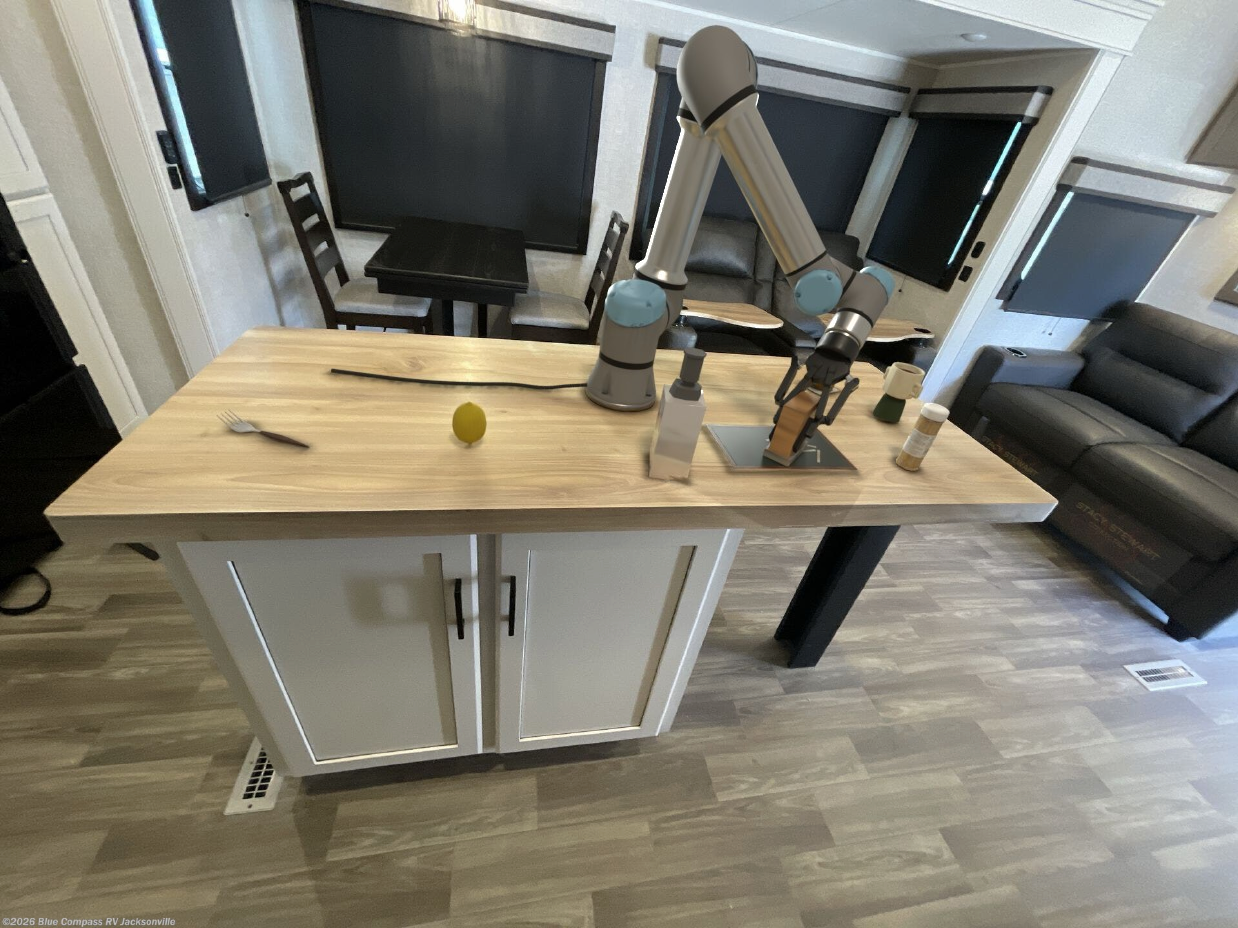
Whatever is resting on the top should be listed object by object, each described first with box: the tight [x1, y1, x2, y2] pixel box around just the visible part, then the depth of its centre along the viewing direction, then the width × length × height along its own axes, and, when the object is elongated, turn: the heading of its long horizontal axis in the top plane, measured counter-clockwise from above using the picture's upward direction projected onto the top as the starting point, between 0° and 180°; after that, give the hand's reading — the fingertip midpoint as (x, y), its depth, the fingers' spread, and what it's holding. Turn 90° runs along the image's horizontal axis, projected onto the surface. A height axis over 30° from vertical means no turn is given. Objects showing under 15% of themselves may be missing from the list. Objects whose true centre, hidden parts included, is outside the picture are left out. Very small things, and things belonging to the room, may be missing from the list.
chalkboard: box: [704, 423, 858, 471], centre depth 105 cm, size 26×16×1 cm, turn 101°
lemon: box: [451, 401, 488, 445], centre depth 89 cm, size 6×6×8 cm
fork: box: [216, 409, 310, 449], centre depth 84 cm, size 3×16×2 cm, turn 73°
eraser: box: [763, 390, 821, 467], centre depth 100 cm, size 10×5×11 cm, turn 143°
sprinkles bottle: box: [895, 402, 950, 472], centre depth 104 cm, size 5×5×13 cm
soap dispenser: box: [648, 346, 708, 482], centre depth 89 cm, size 6×9×22 cm
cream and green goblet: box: [872, 361, 926, 423], centre depth 123 cm, size 11×7×13 cm, turn 18°
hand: (782, 444), depth 99 cm, fingers closed on eraser, 4 cm apart
